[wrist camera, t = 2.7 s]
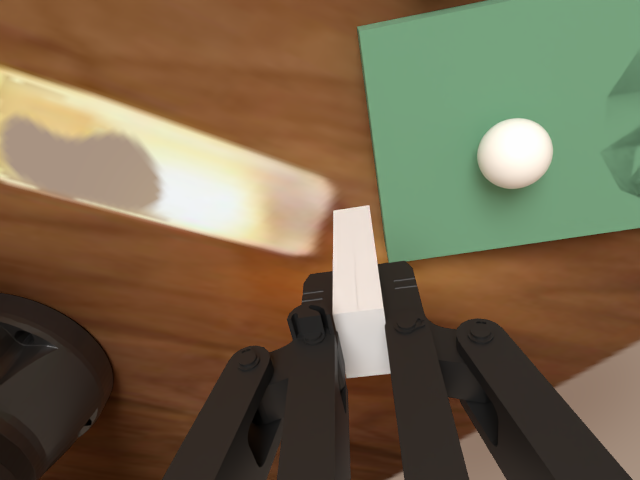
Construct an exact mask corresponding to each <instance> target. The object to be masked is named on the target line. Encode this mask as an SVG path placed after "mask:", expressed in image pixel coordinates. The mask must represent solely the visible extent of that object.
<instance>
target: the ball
mask: <svg viewBox="0 0 640 480" xmlns="http://www.w3.org/2000/svg"><path fill="white" fill-rule="evenodd" d="M552 156H553V145H552V141H551V138H550V136H549V134H548V133H547V132H546V130H545V129H544V128H543V127H542V126H541V125H539V124H538V123H536V122H534V121H532V120H528V119H523V118H513V119H507V120H504V121H501V122H499V123H497V124H496V125H494V126H493V127H492V128H490V129H489V130H488V131H487V132H486V134H485V135H484V136H483V138H482V139H481V142H480V144H479V147H478V152H477V161H478V165H479V168H480V170H481V172H482V174H483V175H484V177H485V178H486V179H487V180H488V181H490V182H491V183H493V184H494V185H496V186H499V187H502V188H507V189H518V188H523V187H526V186H529V185H531V184H533V183H534V182H536V181H537V180H539V179H540V178H541V177H542V176H543V175H544V174H545V172H546V171H547V170H548V168H549V166H550V164H551V161H552Z"/></svg>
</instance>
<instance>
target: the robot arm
mask: <svg viewBox="0 0 640 480" xmlns="http://www.w3.org/2000/svg"><path fill="white" fill-rule="evenodd" d="M287 321H288V325H289V328H290V331H291V335H292V338H293V341H292V342H291V343H289V344H288V345H286V346H284V347H282V348H280V349H278V350H275V351H272V352H270V353H269V352H268V351H267V350H266V349H265V348H264V347H260V346H249V347H246V348H243V349H241V350H239V351H238V352H236V353H235V354H234V355H233V356H232V357H231V359H230V360H229V361H228V363H227V365H226V367H225V368H224V370H223V372H222V374H221V376H220V377H219V379H218V381H217V383H216V384H215V386H214V388H213V390H212V392H211V393H210V395H209V397H208V399H207V400H206V402H205V404H204V406H203V408H202V409H201V411H200V413H199V415H198V416H197V418H196V420H195V422H194V424H193V425H192V427H191V429H190V431H189V432H188V434H187V436H186V438H185V440H184V441H183V443H182V445H181V447H180V448H179V450H178V452H177V454H176V456H175V457H174V459H173V461H172V463H171V464H170V466H169V468H168V470H167V472H166V473H165V475H164V477H163V479H162V480H266V479H267V476H268V473H269V471H270V468H271V465H272V463H273V460H274V457H275V455H276V452H277V449H278V446H279V444H280V441H281V449H280V458H279V466H278V475H277V480H351V477H350V445H349V413H348V390H347V386H346V382H345V373H346V377H347V378H353V377H363V376H372V375H382V374H391V380H392V387H393V395H394V403H395V410H396V418H397V425H398V433H399V441H400V448H401V456H402V464H403V471H404V478H405V480H469V477H468V473H467V469H466V465H465V461H464V458H463V454H462V450H461V446H460V442H459V438H458V434H457V430H456V426H455V423H454V419H453V415H452V411H451V407H450V403H449V399H448V397H452V398H457V399H460V402H461V404H462V406H463V408H464V409H465V411H466V413H467V414H468V416H469V418H470V419H471V421H472V423H473V424H474V426H475V428H476V429H477V431H478V433H479V434H480V436H481V437H482V439H483V440H484V442H485V444H486V446H487V448H488V449H489V451H490V453H491V454H492V456H493V458H494V459H495V460H496V463H497V464H498V466H499V468H500V469H501V471H502V473H503V474H504V476H505V477H506V479H507V480H632V478H631V477H630V476H629V475H628V474H627V473H626V471H625V470H624V469H623V468H622V467H621V466H620V465H619V463H618V462H617V461H616V460H615V459H614V458H613V456H612V455H611V454H610V453H609V452H608V451H607V449H605V447H604V446H603V445H602V444H601V443H600V441H599V440H598V439H597V438H596V437H595V435H594V434H593V433H592V432H591V431H590V430H589V429H588V427H587V426H586V425H585V424H584V423H583V422H582V420H581V419H580V418H579V417H578V416H577V414H576V413H575V412H574V411H573V410H572V409H571V408H570V406H569V405H568V404H567V403H566V402H565V401H564V399H563V398H562V397H561V396H560V395H559V394H558V393H557V391H556V390H555V389H554V388H553V387H552V385H551V384H550V383H549V382H548V381H547V380H546V378H545V377H544V376H543V375H542V374H541V373H540V371H539V370H538V369H537V368H536V367H535V366H534V364H533V363H532V362H531V361H530V360H529V359H528V357H527V356H526V355H525V354H524V353H523V352H522V351H521V349H520V348H519V347H518V346H517V345H516V344H515V342H514V341H513V340H512V339H511V338H510V337H509V335H508V334H507V333H506V332H505V331H504V330H503V328H501V327H500V326H499V325H498V324H496V323H495V322H492V321H489V320H486V319H471V320H468V321H466V322H463V323H462V324H461V325H460V326H459V327H458V328H457V329H449V328H443V327H440V326H437V325H435V324H433V323H431V322H430V321H429V320H428V319H427V318H426V316H425V314H424V311H423V307H422V303H421V299H420V295H419V292H418V288H417V284H416V280H415V276H414V272H413V268H412V267H411V266H410V265H409V264H408V263H407V262H406V261H398V262H391V263H383V264H378V263H377V256H376V249H375V242H374V235H373V229H372V222H371V215H370V208H369V205H368V206H361V207H355V208H348V209H342V210H335V211H334V218H333V271H331V272H324V273H316V274H310V275H309V277H308V278H307V279H306V281H305V282H304V286H303V296H302V305H300V306H298V307H296V308H295V309H294V310H293V311H292V312H291V313H290V314H289V316H288V318H287ZM112 388H113V373H112V368H111V365H110V363H109V360H108V358H107V356H106V354H105V353H104V351H103V350H102V348H101V347H100V346H99V344H98V343H97V342H96V341H95V340H94V338H93V337H92V336H91V335H90V334H89V333H87V332H86V331H85V330H84V329H83V328H82V327H80V326H79V325H78V324H77V323H75V322H74V321H72V320H71V319H69V318H68V317H66V316H65V315H63V314H61V313H59V312H57V311H56V310H54V309H52V308H49V307H47V306H45V305H43V304H40V303H38V302H35V301H32V300H29V299H26V298H22V297H18V296H14V295H9V294H3V293H0V480H39V478H40V477H41V476H42V475H43V474H44V473H45V472H46V471H47V470H48V469H49V468H50V467H51V466H52V465H53V464H54V463H55V462H56V461H57V460H58V459H59V458H60V457H61V456H62V455H63V454H64V453H65V452H66V451H67V450H68V449H69V448H70V447H71V446H72V445H73V443H74V442H75V441H76V440H77V438H78V437H80V436H81V435H83V434H84V433H85V432H86V431H87V430H88V429H89V428H90V427H91V426H92V425H93V424H94V423H95V422H96V420H97V419H98V417H99V416H100V414H101V412H102V410H103V408H104V406H105V404H106V402H107V400H108V398H109V396H110V394H111V392H112ZM281 438H282V440H281Z"/></svg>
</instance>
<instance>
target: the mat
mask: <svg viewBox="0 0 640 480" xmlns="http://www.w3.org/2000/svg"><path fill="white" fill-rule="evenodd" d="M357 32H358V39H359V47H360V55H361V62H362V70H363V78H364V85H365V93H366V101H367V108H368V116H369V124H370V131H371V139H372V147H373V154H374V162H375V169H376V177H377V185H378V192H379V200H380V208H381V215H382V223H383V231H384V238H385V246H386V251H387V256H388V261H389V263H391V262H398V261H413V260H420V259H427V258H434V257H440V256H447V255H454V254H461V253H468V252H475V251H482V250H489V249H496V248H503V247H510V246H517V245H524V244H531V243H538V242H545V241H552V240H559V239H566V238H573V237H580V236H586V235H593V234H600V233H607V232H614V231H621V230H628V229H635V228H640V0H487V1H482V2H477V3H472V4H467V5H462V6H457V7H452V8H447V9H443V10H438V11H433V12H428V13H423V14H418V15H413V16H408V17H403V18H398V19H393V20H388V21H383V22H379V23H374V24H369V25H364V26H359V27H357ZM513 118H523V119H528V120H532V121H534V122H536V123H538V124H539V125H541V126H542V127H543V128H544V129H545V130H546V132H547V133H548V134H549V136H550V138H551V141H552V145H553V156H552V161H551V164H550V166H549V168H548V170H547V171H546V172H545V174H544V175H543V176H542V177H541V178H540V179H539V180H537V181H536V182H534V183H533V184H531V185H529V186H526V187H523V188H518V189H507V188H502V187H499V186H496V185H494V184H493V183H491V182H490V181H488V180H487V179H486V178H485V177H484V175H483V174H482V172H481V170H480V168H479V165H478V161H477V152H478V147H479V144H480V142H481V139H482V138H483V136H484V135H485V134H486V132H487V131H488V130H489V129H490V128H492V127H493V126H494V125H496V124H497V123H499V122H501V121H504V120H507V119H513Z"/></svg>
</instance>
